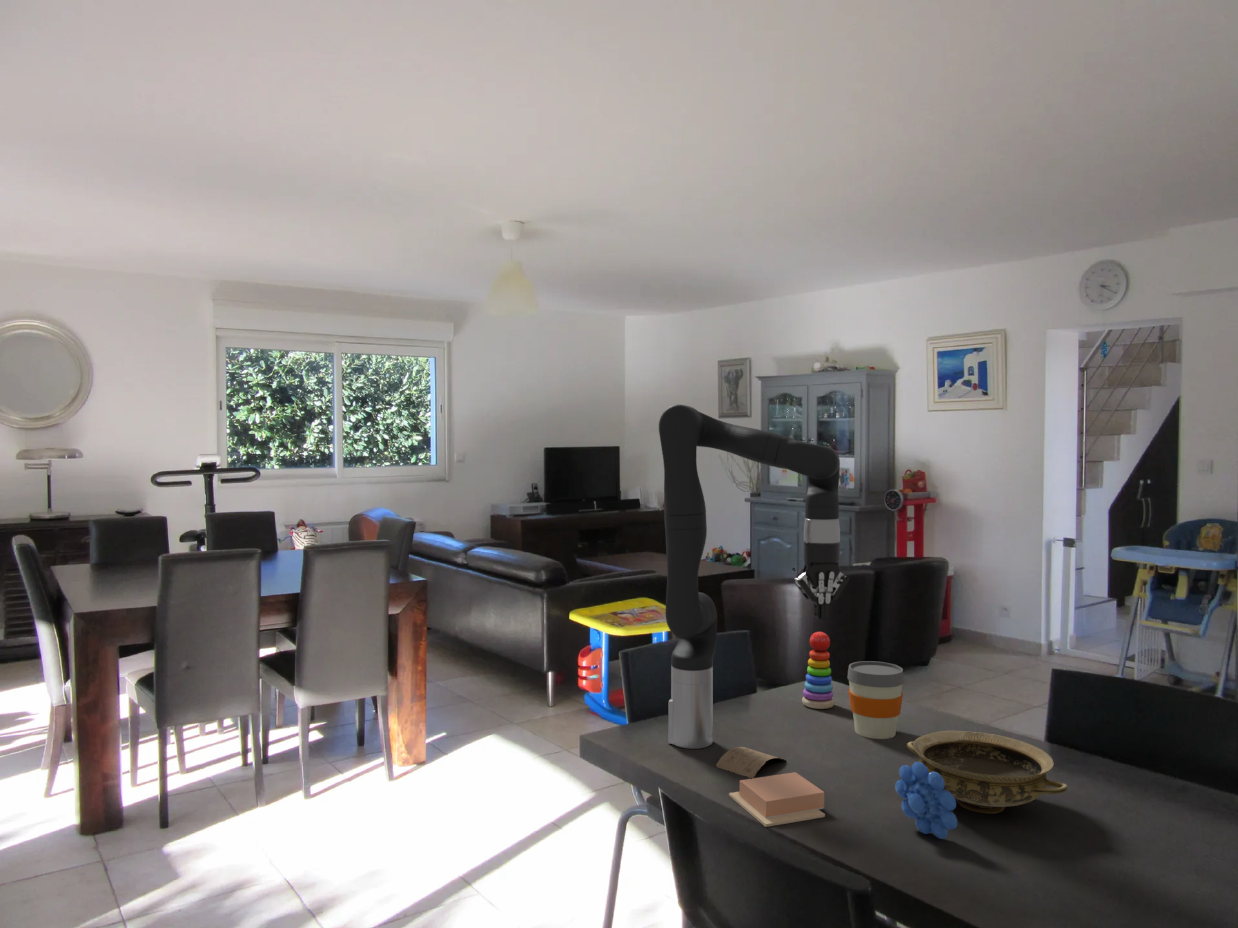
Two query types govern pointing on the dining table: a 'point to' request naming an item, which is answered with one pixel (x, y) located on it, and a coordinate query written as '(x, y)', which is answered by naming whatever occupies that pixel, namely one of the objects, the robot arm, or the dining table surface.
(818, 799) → the tile
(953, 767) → the ceramic bowl
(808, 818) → the mat
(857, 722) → the reusable coffee cup
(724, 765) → the curved bark piece
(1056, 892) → the dining table surface
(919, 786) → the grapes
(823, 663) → the stacking toy
